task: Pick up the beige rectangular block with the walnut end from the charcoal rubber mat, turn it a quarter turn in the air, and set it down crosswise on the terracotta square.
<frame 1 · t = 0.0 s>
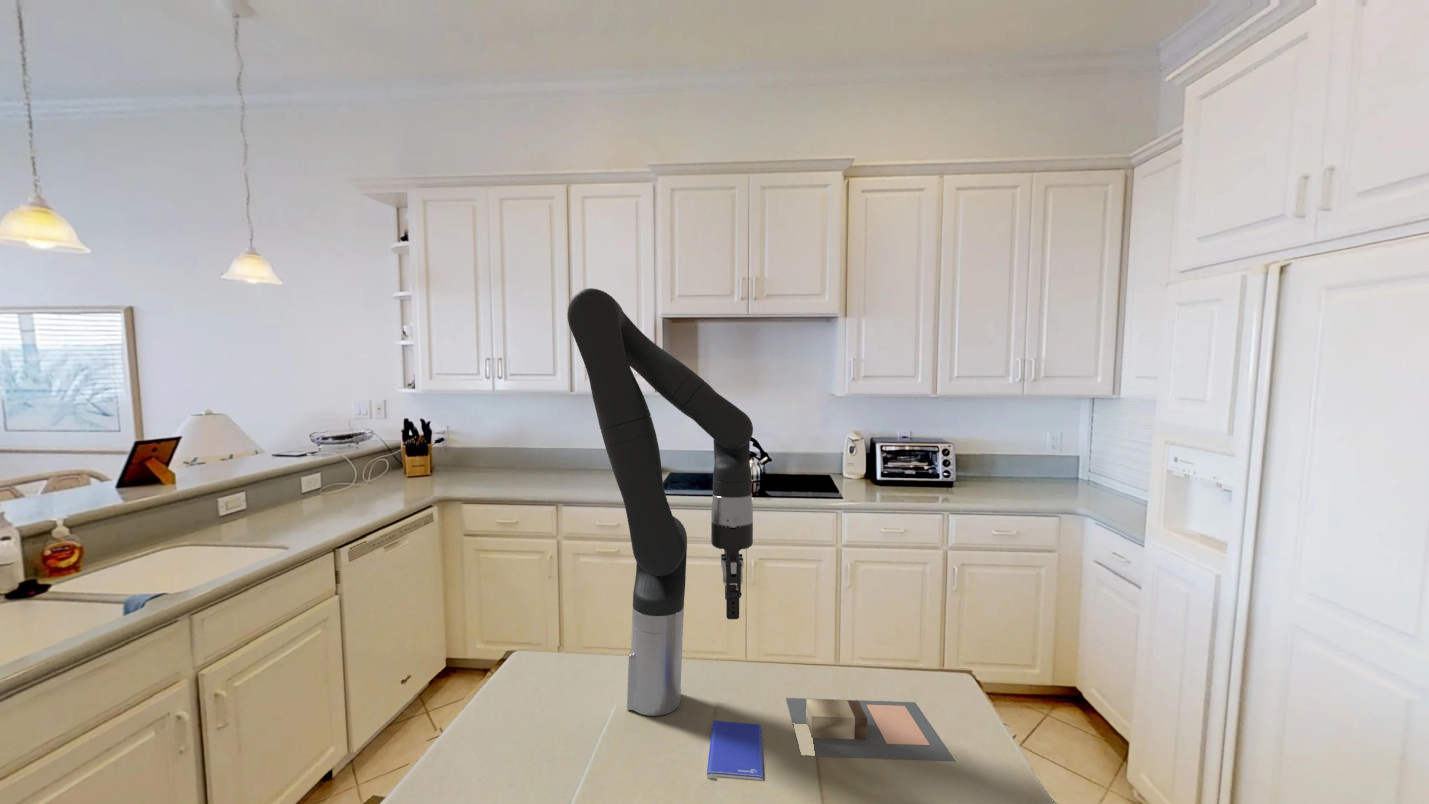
hand: (731, 608, 95), 17 cm above the countertop, tool pointing down, fingers open, 8 cm apart
hard drive: (735, 757, 82), on the countertop
rubber mat: (863, 728, 89), on the countertop
beige rectangular block: (835, 729, 88), resting on rubber mat
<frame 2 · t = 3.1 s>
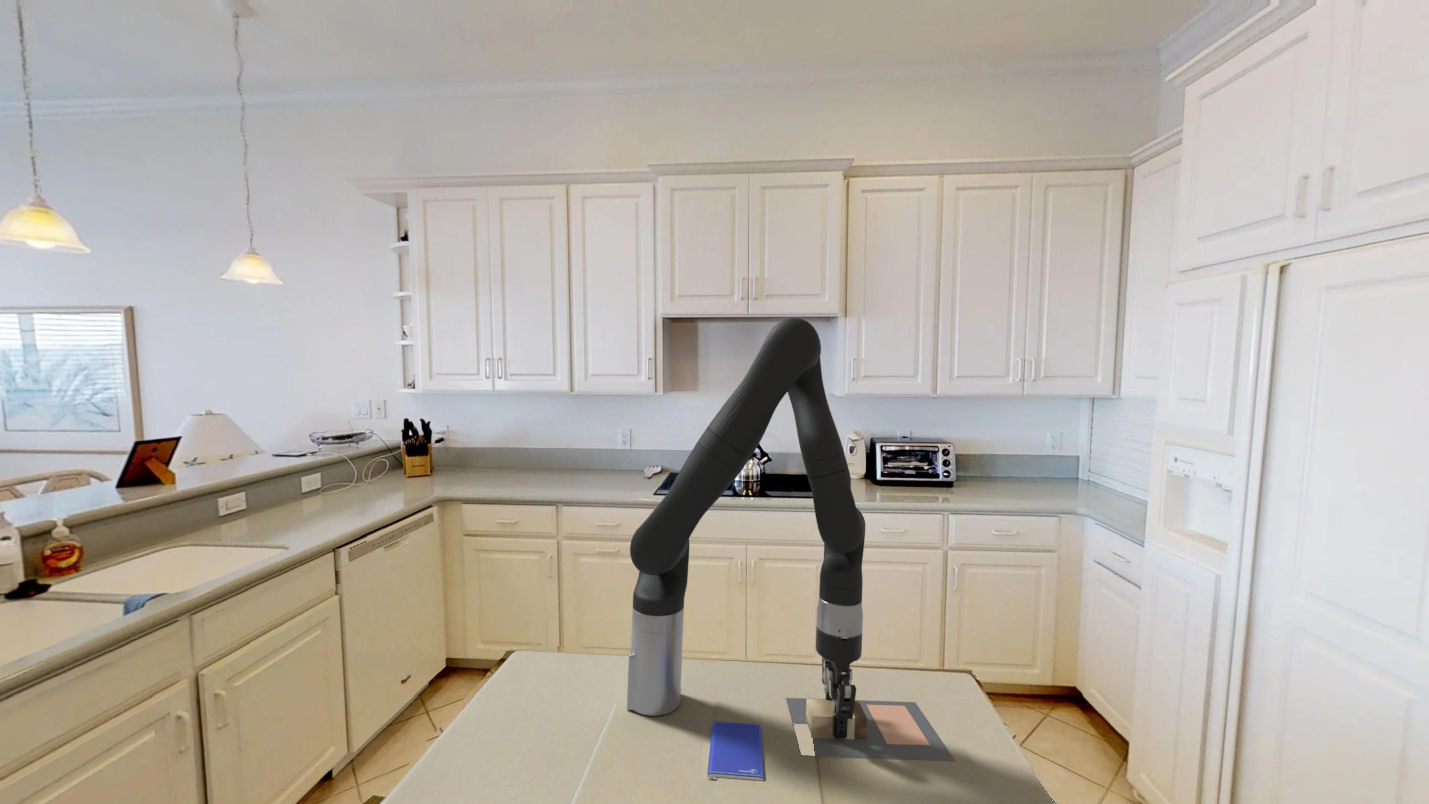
hand: (835, 726, 88), 1 cm above the countertop, tool pointing down, fingers closed on beige rectangular block, 5 cm apart
beige rectangular block: (835, 729, 88), resting on rubber mat, touching gripper
everything else where it was.
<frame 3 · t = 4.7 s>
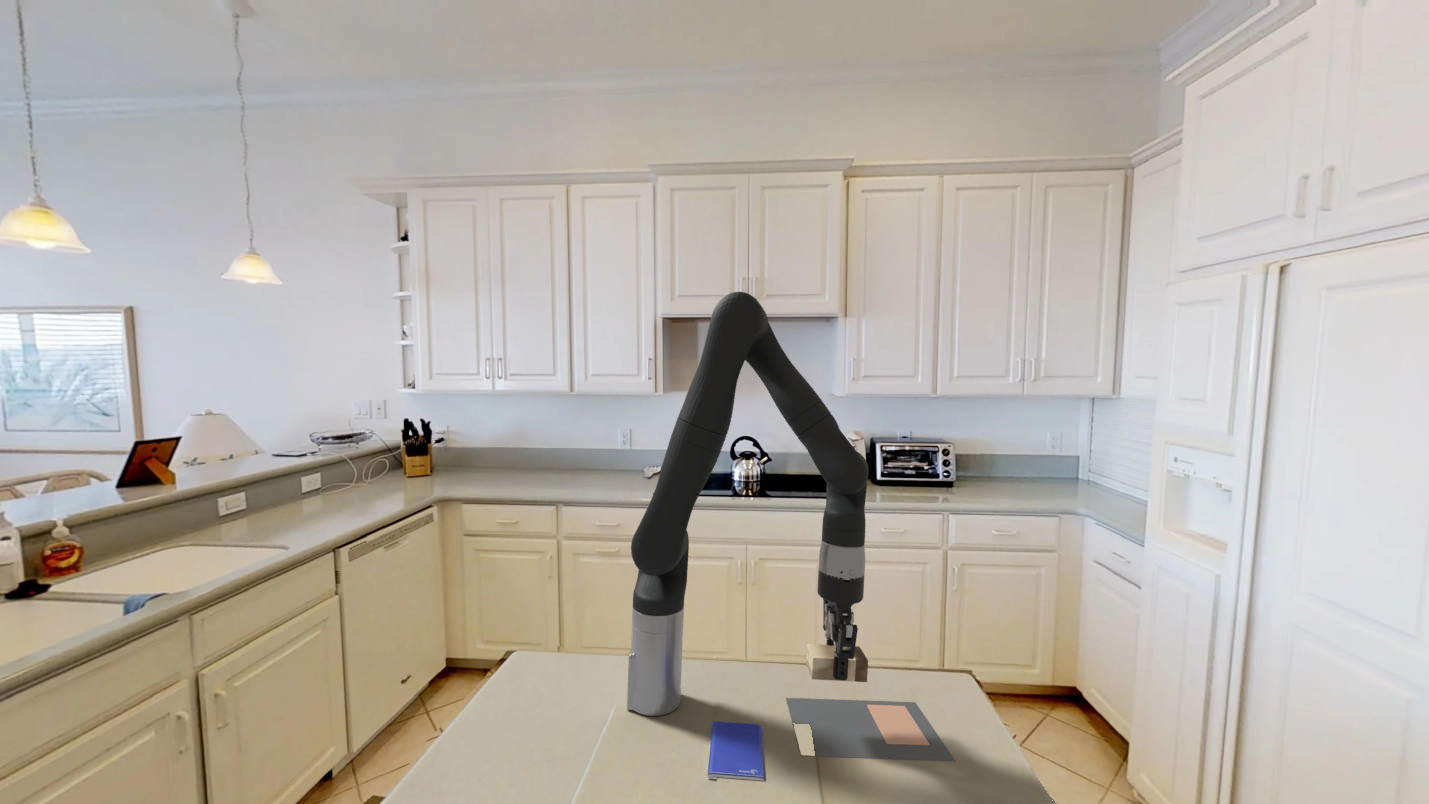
hand: (836, 669, 88), 10 cm above the countertop, tool pointing down, fingers closed on beige rectangular block, 5 cm apart
beige rectangular block: (835, 672, 88), point 10 cm above the countertop, touching gripper
everything else where it was.
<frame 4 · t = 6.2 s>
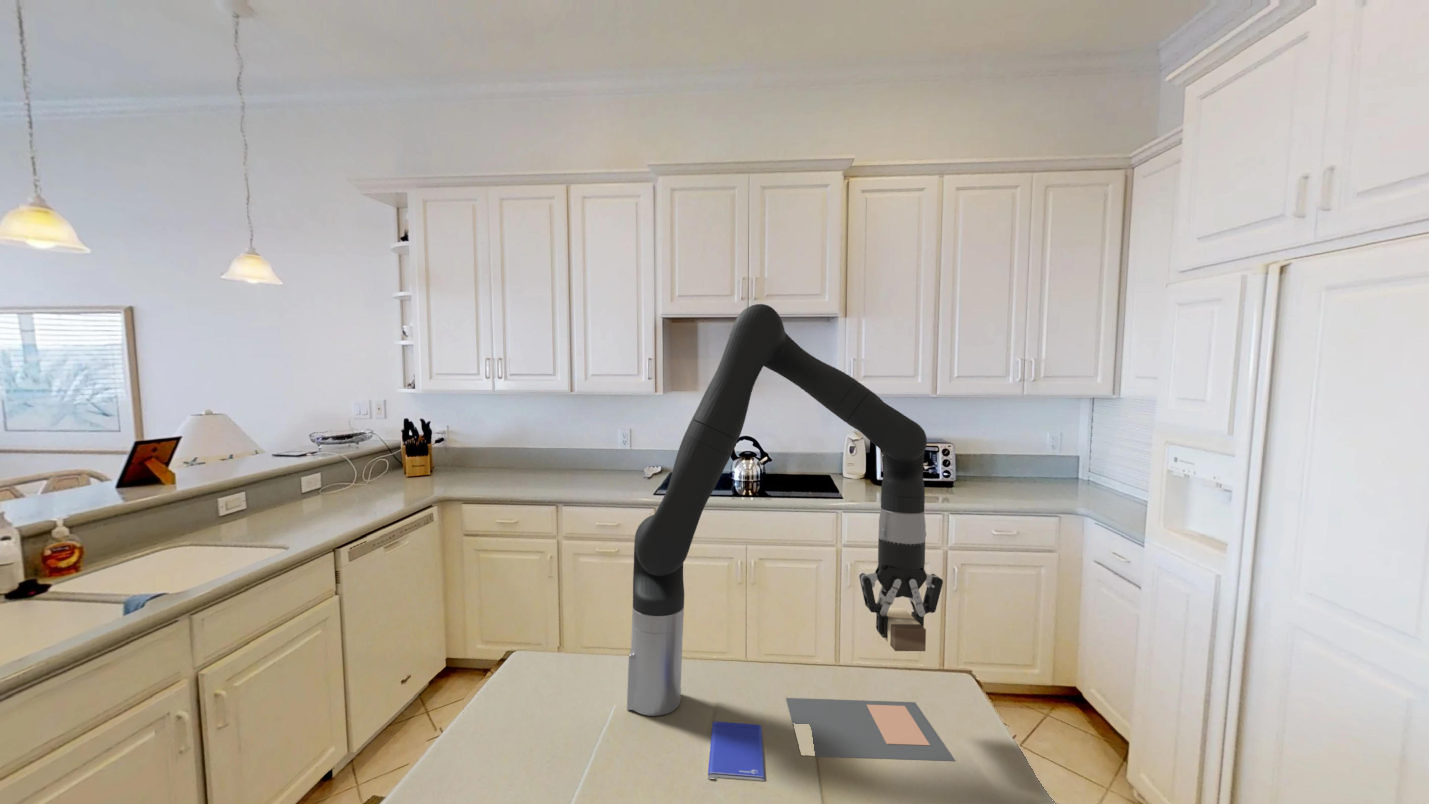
hand: (899, 635, 90), 16 cm above the countertop, tool pointing down, fingers closed on beige rectangular block, 5 cm apart
beige rectangular block: (899, 638, 90), point 15 cm above the countertop, touching gripper
everything else where it was.
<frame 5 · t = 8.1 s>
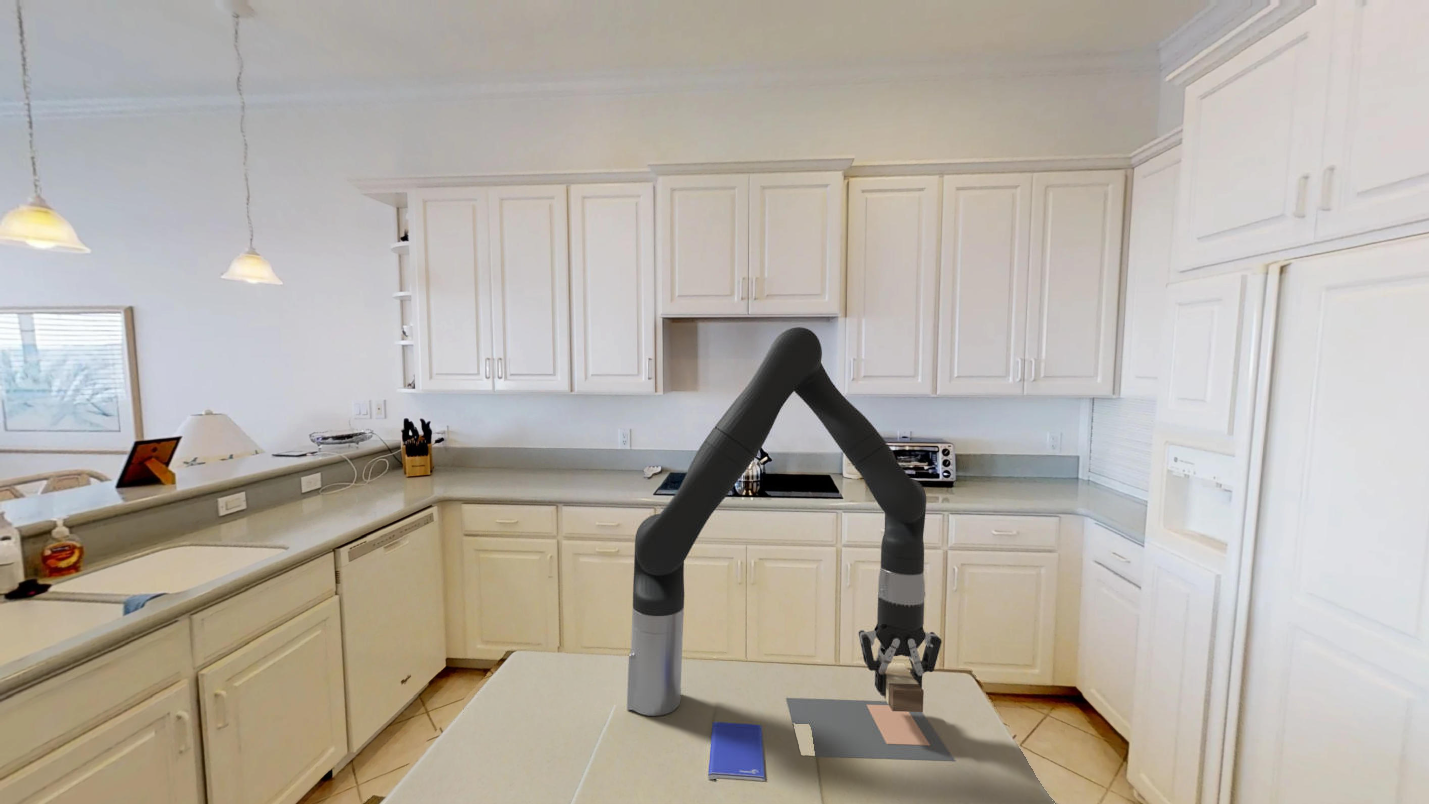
hand: (897, 693, 90), 6 cm above the countertop, tool pointing down, fingers closed on beige rectangular block, 5 cm apart
beige rectangular block: (897, 696, 90), point 5 cm above the countertop, touching gripper
everything else where it was.
when the fingers open (3 cm above the countertop, at t = 9.6 s): beige rectangular block drops 1 cm, resting on rubber mat.
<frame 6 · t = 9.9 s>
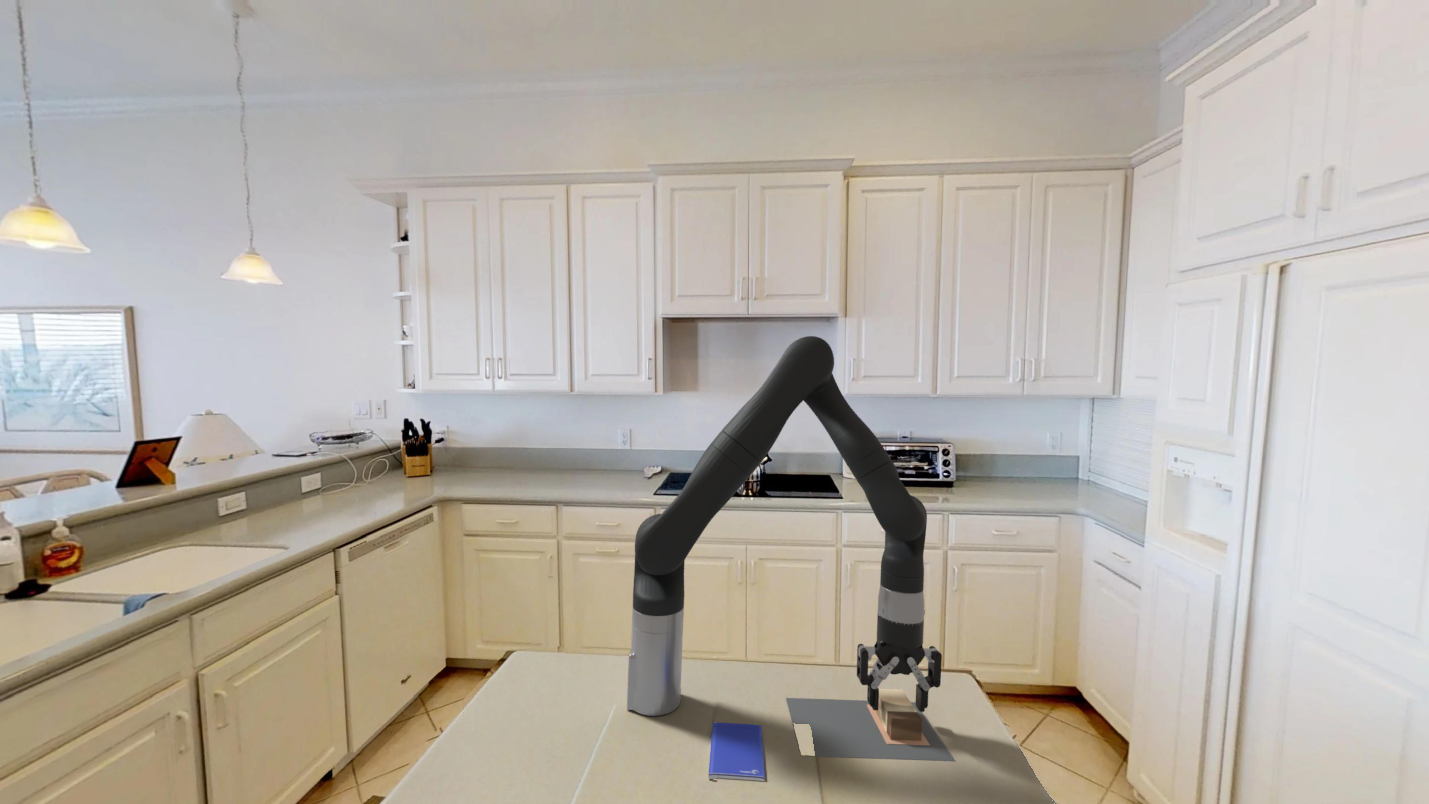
hand: (896, 708, 90), 3 cm above the countertop, tool pointing down, fingers open, 7 cm apart
beige rectangular block: (896, 723, 90), resting on rubber mat
everything else where it was.
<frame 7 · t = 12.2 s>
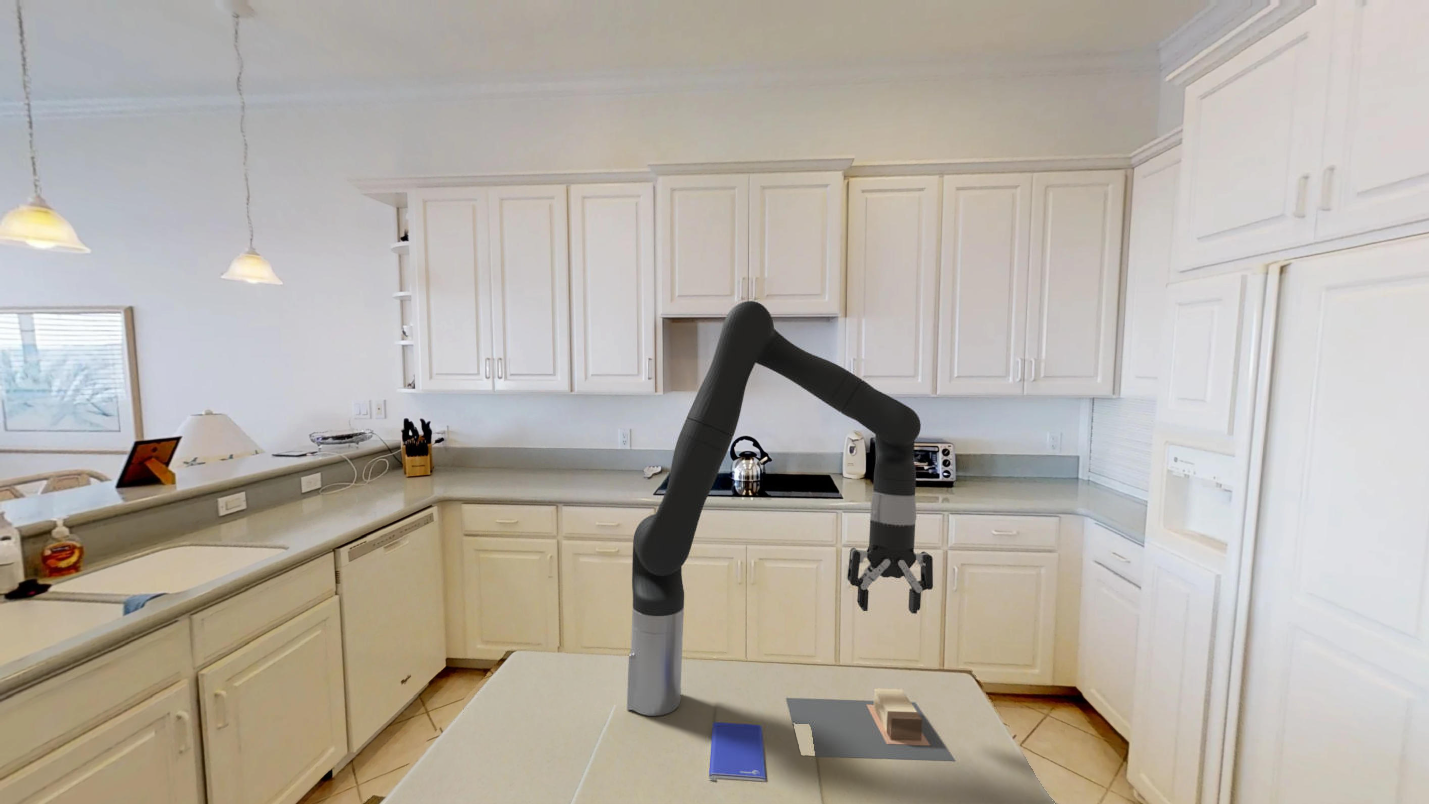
hand: (888, 610, 92), 19 cm above the countertop, tool pointing down, fingers open, 8 cm apart
nothing on the countertop moved.
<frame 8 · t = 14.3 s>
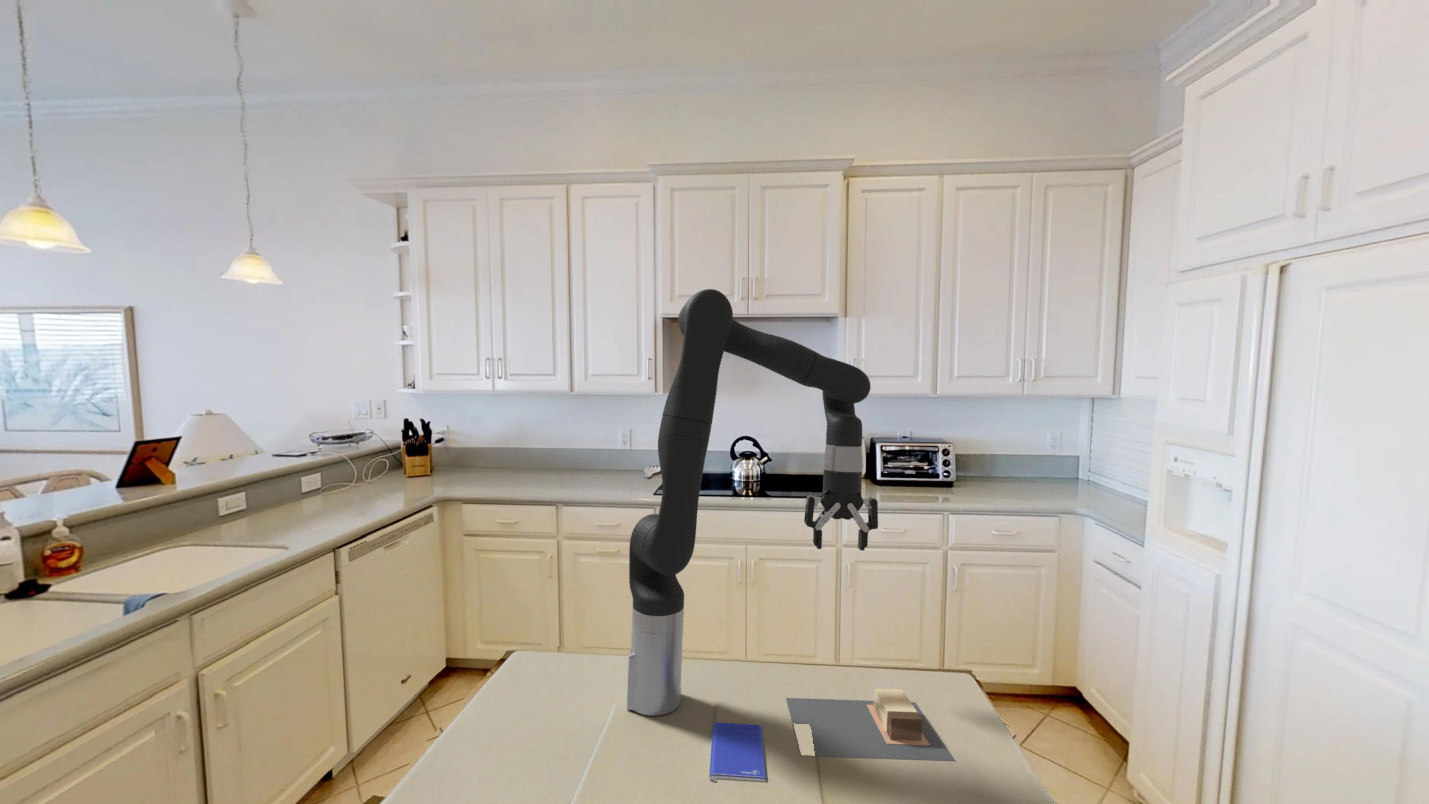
hand: (839, 548, 105), 26 cm above the countertop, tool pointing down, fingers open, 8 cm apart
nothing on the countertop moved.
at the end: beige rectangular block inside the target area (0.0 cm from its centre), point 0.5 cm above the countertop; beige rectangular block tilted 0°; the gripper is holding nothing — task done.
